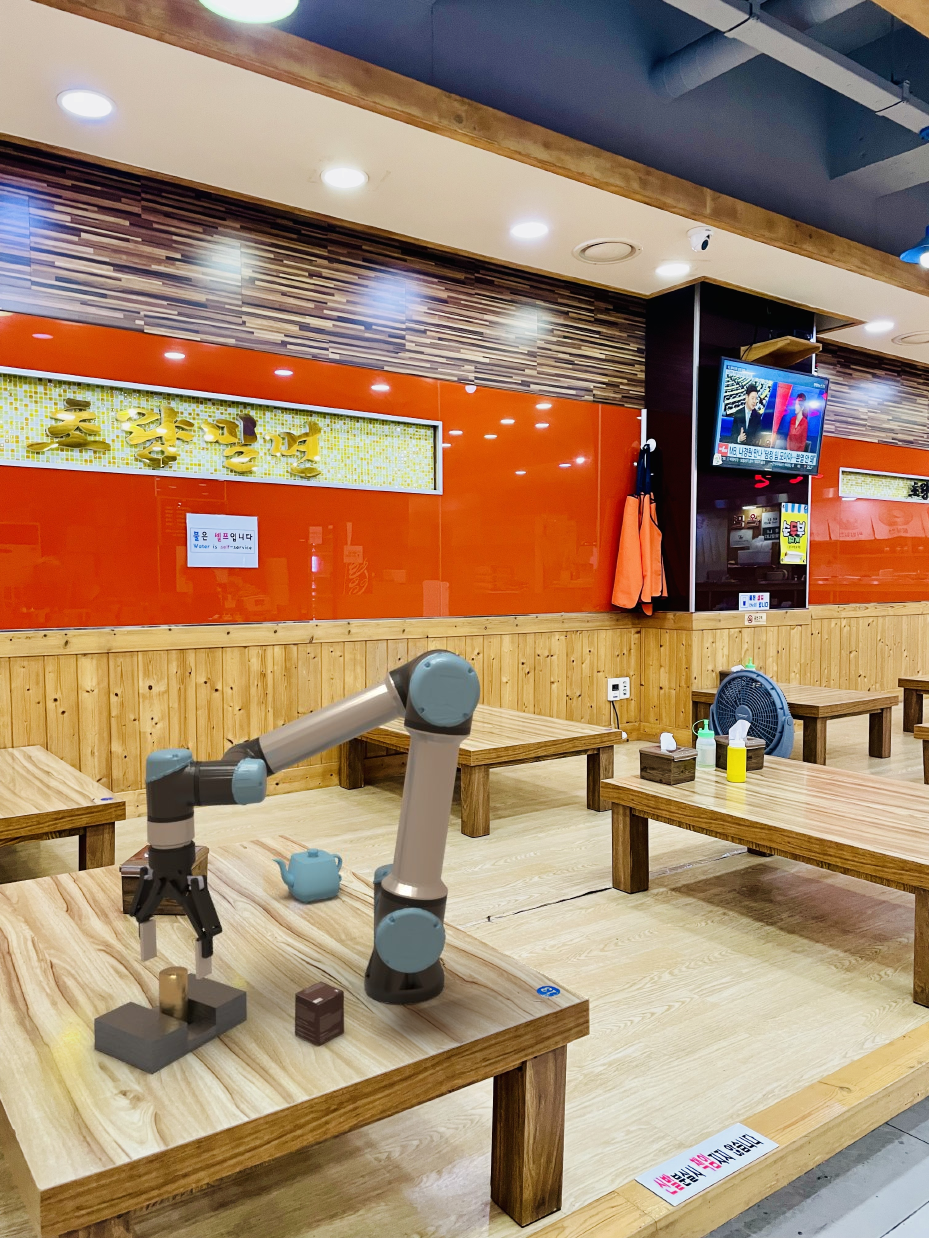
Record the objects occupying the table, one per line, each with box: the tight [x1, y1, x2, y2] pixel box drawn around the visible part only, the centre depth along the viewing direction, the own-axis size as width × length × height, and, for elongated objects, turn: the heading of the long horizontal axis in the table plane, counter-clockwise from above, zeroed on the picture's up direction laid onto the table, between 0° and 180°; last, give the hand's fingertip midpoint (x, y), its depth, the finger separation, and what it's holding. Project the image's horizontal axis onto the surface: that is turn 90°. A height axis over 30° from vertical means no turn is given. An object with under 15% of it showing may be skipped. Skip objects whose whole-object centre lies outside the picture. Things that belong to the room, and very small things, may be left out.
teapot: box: [271, 848, 343, 904], centre depth 213 cm, size 12×18×12 cm
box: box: [294, 981, 345, 1047], centre depth 147 cm, size 6×6×7 cm
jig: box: [93, 972, 248, 1075], centre depth 147 cm, size 14×20×5 cm
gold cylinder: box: [158, 965, 189, 1026], centre depth 147 cm, size 5×5×10 cm
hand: (175, 967), depth 147 cm, fingers open, 13 cm apart
